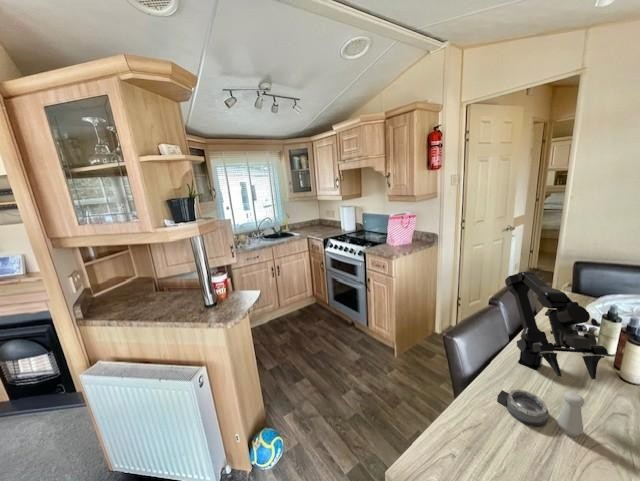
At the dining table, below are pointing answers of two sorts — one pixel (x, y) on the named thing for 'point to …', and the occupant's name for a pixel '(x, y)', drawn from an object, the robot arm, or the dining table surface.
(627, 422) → the dining table surface
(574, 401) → the salt shaker
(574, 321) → the robot arm
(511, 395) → the grey round shallow dish
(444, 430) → the dining table surface
